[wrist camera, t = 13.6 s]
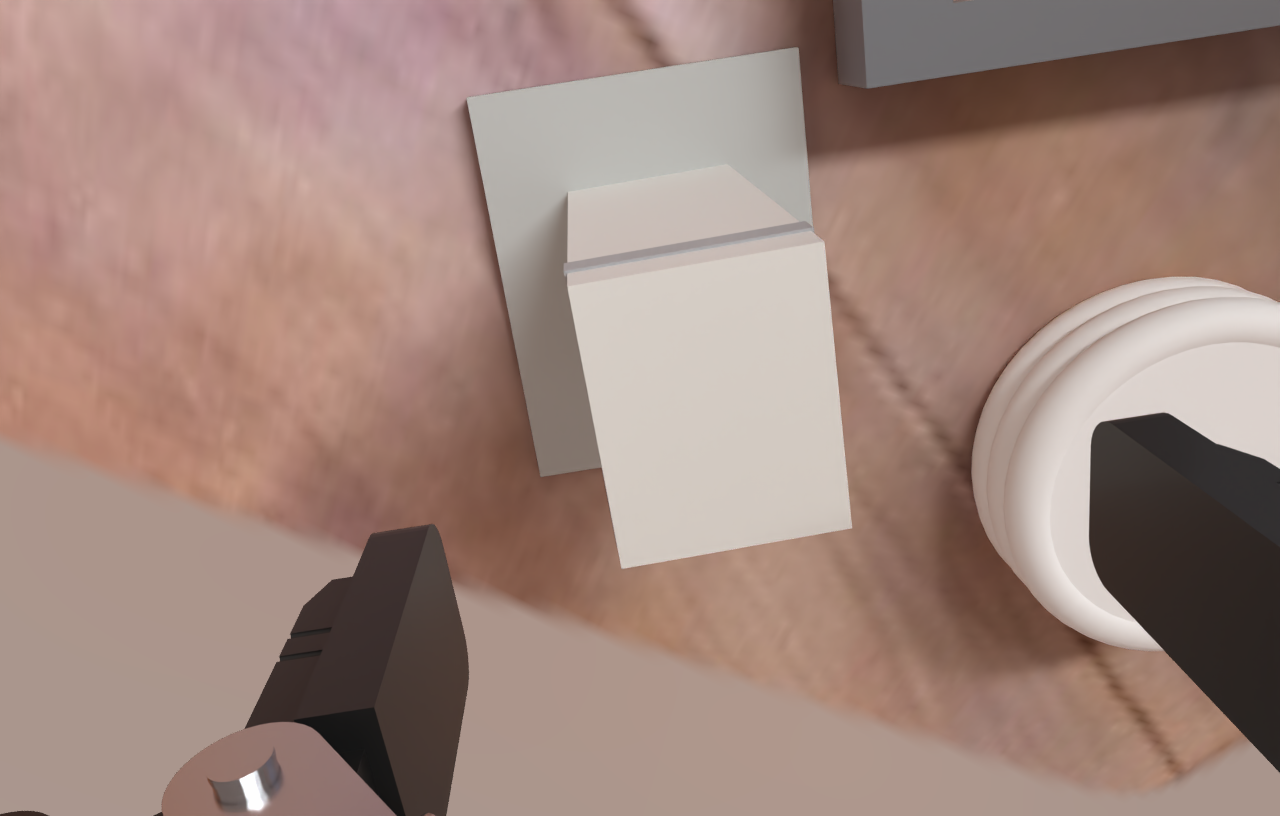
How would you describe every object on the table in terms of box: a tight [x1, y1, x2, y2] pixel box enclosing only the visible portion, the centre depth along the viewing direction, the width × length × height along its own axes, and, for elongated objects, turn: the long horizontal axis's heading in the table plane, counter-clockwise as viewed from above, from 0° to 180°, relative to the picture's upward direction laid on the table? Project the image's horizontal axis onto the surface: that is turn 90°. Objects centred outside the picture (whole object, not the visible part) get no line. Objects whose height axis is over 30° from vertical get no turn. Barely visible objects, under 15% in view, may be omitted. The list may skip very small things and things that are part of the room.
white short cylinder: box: [971, 277, 1280, 651], centre depth 27 cm, size 10×10×4 cm
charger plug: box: [564, 164, 852, 569], centre depth 21 cm, size 4×5×10 cm
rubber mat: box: [467, 47, 813, 477], centre depth 26 cm, size 8×10×1 cm
